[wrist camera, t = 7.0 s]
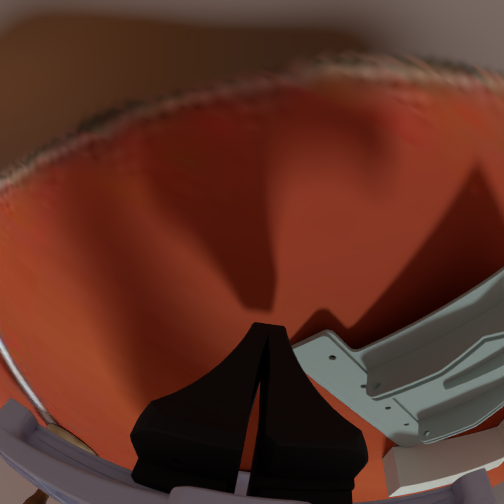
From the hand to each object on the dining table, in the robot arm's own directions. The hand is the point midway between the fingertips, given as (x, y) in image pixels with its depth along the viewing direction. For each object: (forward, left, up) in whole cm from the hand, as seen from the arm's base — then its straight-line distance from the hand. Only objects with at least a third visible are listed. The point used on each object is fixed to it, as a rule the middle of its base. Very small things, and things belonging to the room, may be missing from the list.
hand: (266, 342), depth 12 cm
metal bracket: (+11, -2, -2) cm, 11 cm away
